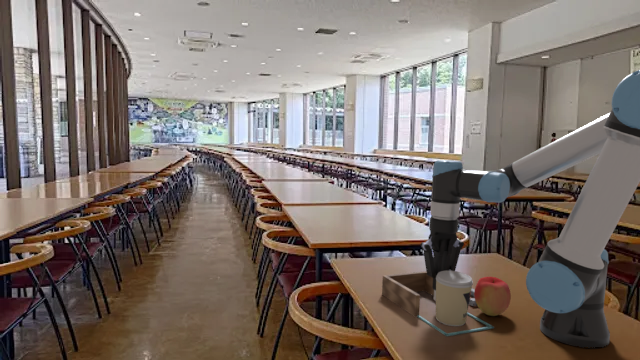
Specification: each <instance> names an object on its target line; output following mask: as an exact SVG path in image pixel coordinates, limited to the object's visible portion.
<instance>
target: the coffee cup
mask: <svg viewBox="0 0 640 360" xmlns="http://www.w3.org/2000/svg"><path fill="white" fill-rule="evenodd" d="M473 284H474V281H473V278H472V276H470V275H469V274H466V273H464V272H461V271H456V270H455V271H441V272H439V273H438V274H437V276H436V301H435V318H436V320H437V321H438V322H439V323H440V324H443V325H445V326H450V327H461V326H464V325H465V324H466V322H467V316H468V315H467V312H468V311H469V306H470V305H469V301H470V299H471V296H470V295H471V289H472V288H473ZM468 313H469V312H468Z"/></svg>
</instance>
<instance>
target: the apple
mask: <svg viewBox="0 0 640 360" xmlns="http://www.w3.org/2000/svg"><path fill="white" fill-rule="evenodd" d="M474 289H475V292H474V297H475V301H476V304H477V305H478V306H477V307H478V308H479V310H480V311H481V312H482V313H483V314H485V315H487V316H490V317H496V316H499V315H501V314H503V313H504V312H505V311H506V310H508V308H509V307H510V304H511V299H512V298H511V297H512V295H511V289H510V286H509V285H508V283H507V282H506V281H504V280H502V279H501V278H498V277H494V276H482V277H480V278H479V279H478V281H477V283H476V285H475V287H474ZM474 297H473V298H474Z"/></svg>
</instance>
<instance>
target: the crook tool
mask: <svg viewBox="0 0 640 360" xmlns="http://www.w3.org/2000/svg"><path fill="white" fill-rule="evenodd" d="M474 292H475V288H473V287H472V289H471V295H470V297H472V298H470V301H469V306H471V307H473V308H474V307H478V305H477V304H476V301H475V297H474Z"/></svg>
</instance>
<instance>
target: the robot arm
mask: <svg viewBox="0 0 640 360" xmlns="http://www.w3.org/2000/svg"><path fill="white" fill-rule="evenodd" d="M596 156H598V157H597V159H596V161H595V162H594V165H593V167H592V169H591V170H590V173H589V175H588V177H587V179H586V181H585V182H584V186H583V187H582V189H581V191H580V194H579V196H578V198H577V199H576V201H575V204H574V206H573V207H572V210H571V211H570V214H569V215H568V217H567V220H566V222H565V224H564V225H563V229H562V230H561V232H560V234H559V237H557V238H554V239H550V240H549V241H548V242H547V243H546V246H545V247H544V249H543V252H542V253H541V256H540V257H539V259H538V262H537V261H536V262H535V263H534V264H533V265H531V267H530V268H529V270H528V271H527V273H526V278H525V285H526V289H527V291H528V294H529V296H530V298H531V299H532V300H533V301H534V302H535V304H537V305H538V306H539V307H540V308H542V309H543V310H544V311H543V314H542V316H541V317H540V321H539V330H540V331H541V333H542V334H544V335H545V336H547V337H549V338H550V339H552V340H554V341H557V342H560V343H562V344H566V345H569V346H573V347H577V346H579V347H578V348H584V347H588V348H587V349H596V348H595V347H602V348H605V347H607V346H608V345H609V344H610V338H611V337H610V336H611V332H610V330H609V327H608V323H607V321H608V320H607V318H606V315H605V314H606V313H605V311H604V310H605V308H604V306H605V296H606V289H607V288H606V286H607V275H608V265H609V263H610V261H609V253H608V251H607V249H605V248H606V246H607V244H608V242H609V240H610V239H611V237H612V234H613V233H614V231H615V229H616V227H617V225H618V224H619V221H620V220H621V217H622V216H623V215H624V212H625V211H626V208H627V206H628V205H629V203H630V201H631V199H632V197H633V195H634V193H635V192H636V190H637V188H638V185H639V184H640V69H639V70H638V69H637V70H635V71H633V72H632V73H630V74H628V75H626V76H625V77H624V78H623V79H622V80H621V81H619V82H618V84H617V86H616V88H615V89H614V92H613V94H612V98H611V111H610V112H608V113H606V114H605V115H603V116H600V117H599V118H597V119H595V120H593V121H591V122H589V123H587V124H585V125H583V126H582V127H579V128H577V129H575V130H573V131H572V132H569V133H568V134H566V135H564V136H561V137H560V138H558V139H556V140H554V141H552V142H550V143H548V144H546V145H544V146H542V147H540V148H538V149H537V150H535V151H533V152H531V153H529V154H527V155H524V156H523V157H521V158H519V159H517V160H515V161H513V162H511V163H509V164H507V165H505V166H503V167H502V168H500V169H493V170H492V169H491V170H477V169H475V170H474V169H473V170H472V169H471V170H470V169H465V168H464V166H463V165H464V164H463V162H462V161H460V160H450V159H448V160H447V159H439V160H436V161H434V163H433V170H432V175H431V178H432V180H431V181H432V182H431V183H432V184H431V186H432V187H431V200H430V212H429V213H430V215H431V216H430V217H429V228H428V229H429V236H428V239H427V240H426V241H425V242H423V241H422V242H421V243H420V248H421V249H422V250H423V257H424V263H425V264H424V265H425V271H426V272H427V275H428V276H430V277H432V278H433V286H432V288H433V289H434V296H433V300H434V301H435V302H436V276H437V274H438V273H439V272H441V271H456V269H457V265H458V262H459V257H460V254H461V250H462V248H463V247H464V245H465V242H464V241H461V240H460V239H458V236H457V233H458V231H459V223H460V221H459V219H458V218H460V217H459V216H460V207H461V199H469V200H474V201H475V200H476V201H482V202H486V203H499V204H500V203H503V202H505V200H506V199H507V198H510V197H512V196H515V195H517V194H519V193H520V192H521V191H522V190H525V189H527V188H529V187H531V186H533V185H535V184H537V183H540V182H542V181H544V180H546V179H549V178H551V177H552V176H556V174H559V173H561V172H563V171H565V170H568V169H570V168H572V167H575V166H577V165H578V164H582V163H583V162H585V161H587V160H589V159H590V160H591V158H593V157H594V158H595V157H596ZM606 345H607V346H606ZM604 346H605V347H604ZM590 347H592V348H590ZM593 347H594V348H593Z"/></svg>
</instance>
